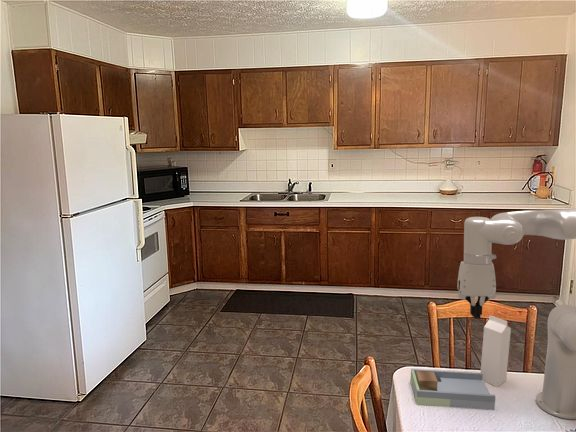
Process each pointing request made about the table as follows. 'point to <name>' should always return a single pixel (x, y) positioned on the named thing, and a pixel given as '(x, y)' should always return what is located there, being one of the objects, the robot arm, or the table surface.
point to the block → (426, 380)
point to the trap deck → (454, 390)
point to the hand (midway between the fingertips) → (476, 316)
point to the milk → (495, 351)
